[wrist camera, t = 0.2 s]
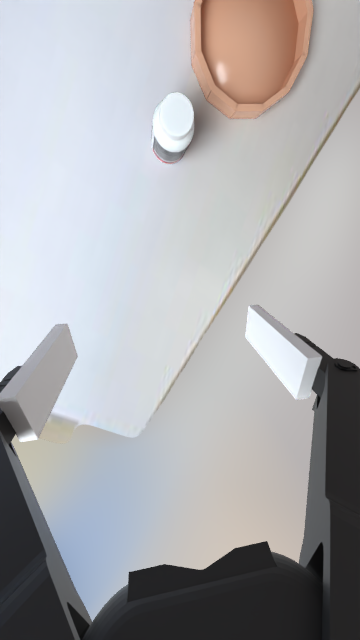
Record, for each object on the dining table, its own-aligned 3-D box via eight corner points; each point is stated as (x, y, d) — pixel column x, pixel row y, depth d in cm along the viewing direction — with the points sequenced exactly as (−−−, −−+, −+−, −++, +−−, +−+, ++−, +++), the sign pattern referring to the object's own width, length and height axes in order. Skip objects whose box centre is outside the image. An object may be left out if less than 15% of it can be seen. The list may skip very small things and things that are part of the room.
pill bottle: (189, 159, 34) (204, 136, 26) (157, 169, 34) (162, 150, 26) (179, 117, 32) (193, 75, 23) (145, 128, 32) (146, 90, 23)
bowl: (188, -53, 26) (192, -78, 24) (309, -42, 28) (323, -65, 26) (192, 118, 32) (196, 111, 30) (290, 118, 34) (299, 111, 32)
